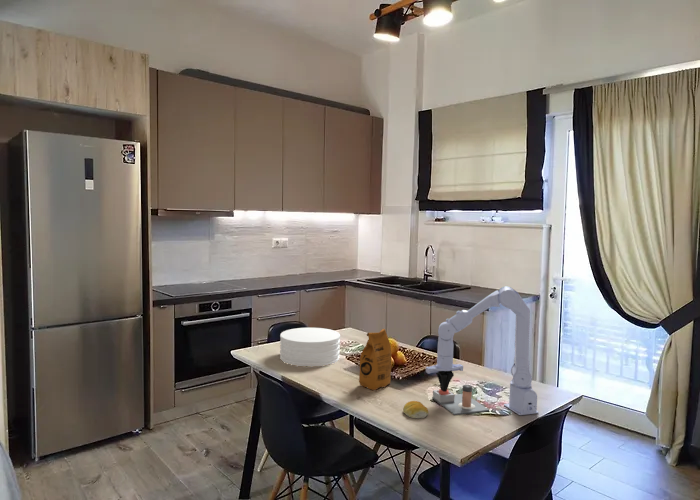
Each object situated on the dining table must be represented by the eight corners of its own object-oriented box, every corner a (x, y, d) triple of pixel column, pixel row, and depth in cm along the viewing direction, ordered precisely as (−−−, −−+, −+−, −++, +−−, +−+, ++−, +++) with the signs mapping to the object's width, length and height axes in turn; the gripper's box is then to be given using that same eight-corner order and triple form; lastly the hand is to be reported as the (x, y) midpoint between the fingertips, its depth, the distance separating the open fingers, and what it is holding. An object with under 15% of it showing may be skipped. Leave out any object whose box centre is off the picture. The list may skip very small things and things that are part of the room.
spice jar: (472, 406, 175) (473, 387, 175) (464, 407, 175) (465, 388, 174) (468, 403, 179) (469, 384, 178) (460, 404, 178) (461, 385, 177)
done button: (450, 399, 181) (450, 391, 181) (441, 400, 180) (441, 392, 180) (445, 396, 185) (445, 388, 185) (436, 396, 184) (437, 389, 183)
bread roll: (421, 408, 176) (421, 397, 175) (431, 418, 167) (431, 406, 167) (399, 409, 174) (399, 398, 173) (408, 420, 165) (408, 408, 165)
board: (489, 411, 174) (489, 402, 173) (454, 415, 169) (454, 406, 169) (465, 394, 189) (465, 387, 189) (432, 398, 185) (432, 390, 184)
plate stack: (316, 371, 213) (317, 345, 212) (267, 360, 227) (267, 335, 226) (350, 356, 237) (351, 333, 236) (304, 347, 251) (304, 324, 250)
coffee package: (355, 385, 197) (356, 331, 195) (375, 378, 206) (377, 326, 204) (373, 391, 190) (375, 335, 188) (394, 384, 199) (395, 330, 197)
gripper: (457, 350, 187) (455, 385, 188) (422, 352, 183) (421, 388, 184) (466, 355, 181) (465, 391, 182) (431, 358, 176) (430, 395, 177)
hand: (443, 390), depth 182 cm, fingers closed, pressing on done button
